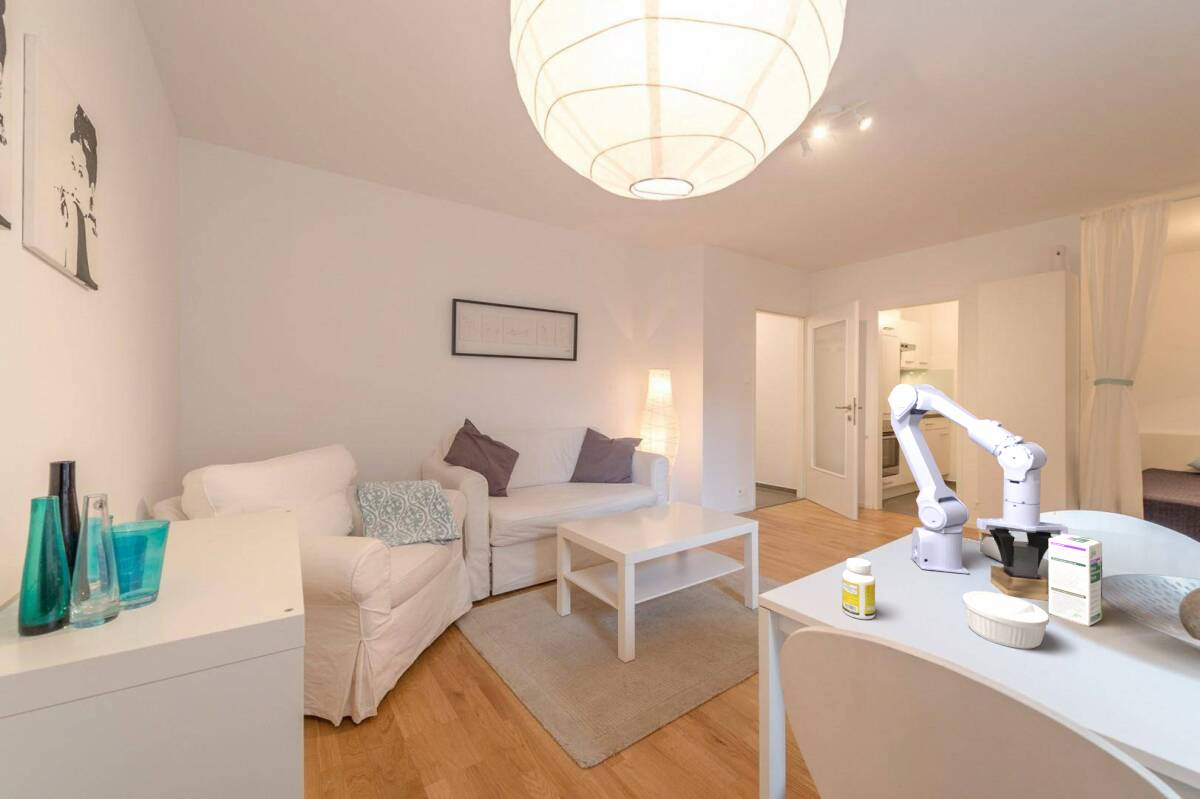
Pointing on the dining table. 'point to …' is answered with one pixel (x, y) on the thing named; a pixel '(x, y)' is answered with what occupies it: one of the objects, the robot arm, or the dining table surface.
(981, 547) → the tube
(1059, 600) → the syrup box
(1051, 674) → the dining table surface
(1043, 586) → the oak dock
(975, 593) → the ramekin
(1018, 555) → the matte charcoal brick
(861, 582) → the supplement bottle
